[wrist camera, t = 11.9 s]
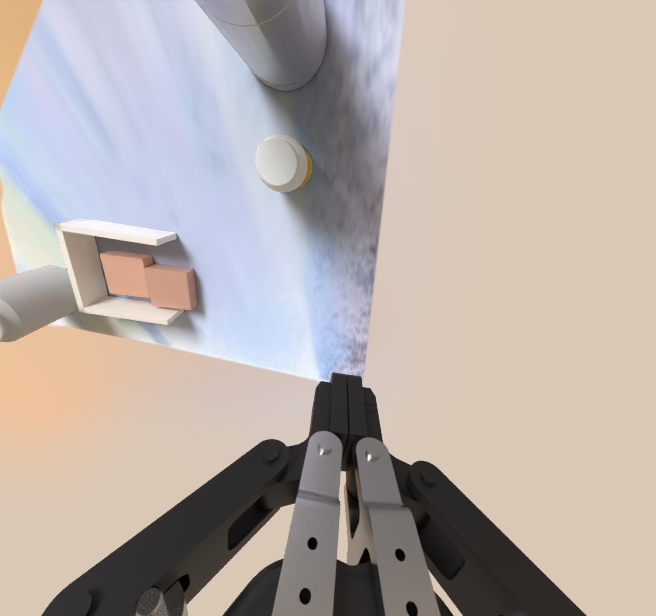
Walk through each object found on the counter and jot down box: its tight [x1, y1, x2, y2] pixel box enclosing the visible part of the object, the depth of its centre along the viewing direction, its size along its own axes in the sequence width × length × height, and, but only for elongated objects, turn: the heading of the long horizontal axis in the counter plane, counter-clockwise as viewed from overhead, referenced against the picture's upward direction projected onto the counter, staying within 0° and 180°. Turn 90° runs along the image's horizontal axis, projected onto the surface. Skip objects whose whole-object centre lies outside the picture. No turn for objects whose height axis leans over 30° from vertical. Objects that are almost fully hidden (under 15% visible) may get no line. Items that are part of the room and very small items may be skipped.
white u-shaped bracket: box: [54, 219, 184, 325], centre depth 38 cm, size 13×13×4 cm
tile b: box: [144, 264, 198, 310], centre depth 40 cm, size 6×6×2 cm
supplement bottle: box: [255, 134, 313, 192], centre depth 29 cm, size 5×5×10 cm
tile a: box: [100, 250, 153, 298], centre depth 40 cm, size 6×6×2 cm
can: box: [0, 265, 79, 342], centre depth 37 cm, size 8×8×12 cm
